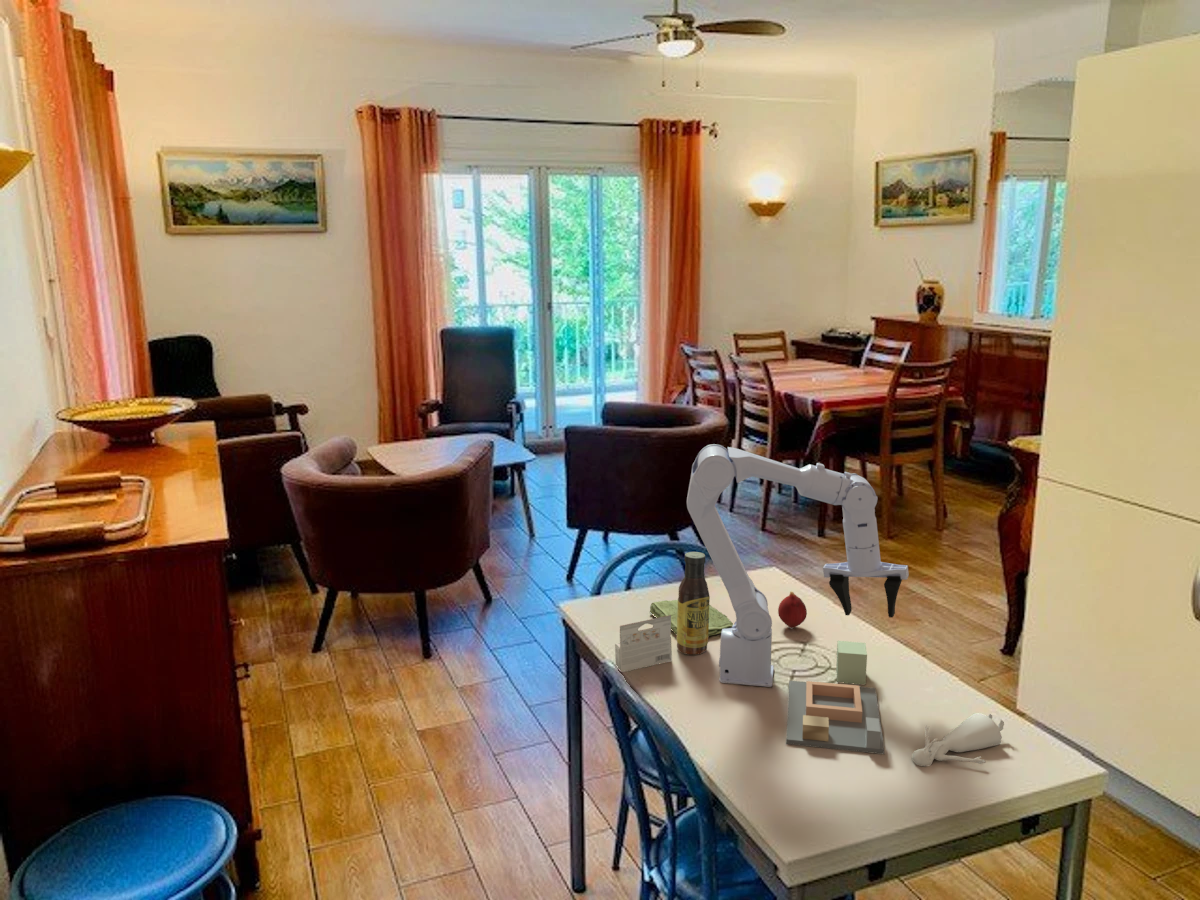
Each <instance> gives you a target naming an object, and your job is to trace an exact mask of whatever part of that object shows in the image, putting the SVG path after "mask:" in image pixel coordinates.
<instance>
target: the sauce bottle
mask: <svg viewBox="0 0 1200 900" xmlns="http://www.w3.org/2000/svg"><path fill="white" fill-rule="evenodd" d="M684 562H685V568H684V578H683V579H682V580H681V582H680V584H679V586H678V598H677V600H678V612H677V635H676V648H677V651H678V652H680V653H682V654H683V655H689V656H691V655H692V656H698V655H701V654H703V653H705V652H706V651H707V650H708V644H709V636H708V629H709V605H710V597H711V596H710V592H709V587H708V582H707V581H706V578H705V564H706V555H705V553H703V552H700V551H699V552H698V551H689V552H686V553H685V554H684Z"/></svg>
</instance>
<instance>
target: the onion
mask: <svg viewBox="0 0 1200 900" xmlns="http://www.w3.org/2000/svg"><path fill="white" fill-rule="evenodd" d="M777 610H778V611H777V614H778V617H779V619H780V620H781V621H782V623H784V624H785V625H786V626H787V628H790V629H794V628H796V627H798V626H800V625H801V624H802V623H803V622H805V620H806V619H807V614H808V613H807V606H806V604H805V602H803V599H802V598H800V597H799V596H797V595H796V594H795V592H794V591H792V590H791V591H789V595H788V596H786V597H785V598H782V600H781V601H780V602H779V605H778V608H777Z"/></svg>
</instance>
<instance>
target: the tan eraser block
mask: <svg viewBox="0 0 1200 900" xmlns="http://www.w3.org/2000/svg"><path fill="white" fill-rule="evenodd" d="M828 735H829V718H828V717H818V716H808V715H803V737H802V739H810V740H819V741H828Z"/></svg>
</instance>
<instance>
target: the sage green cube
mask: <svg viewBox="0 0 1200 900" xmlns="http://www.w3.org/2000/svg"><path fill="white" fill-rule="evenodd" d="M836 642H837V643H836V647H837V648H836V664H835V665H836V669H835V671H836V672H835V673H837V674H836V683H837V682H844V683H843V684H848V683H854V684H853V685H859V684H864V685H863V686H866V685H865V684H867V664H868V663H867V662H868V653H867V644H866V643H867V642H860V641H848V640H846V641H845V640H837V641H836Z"/></svg>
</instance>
